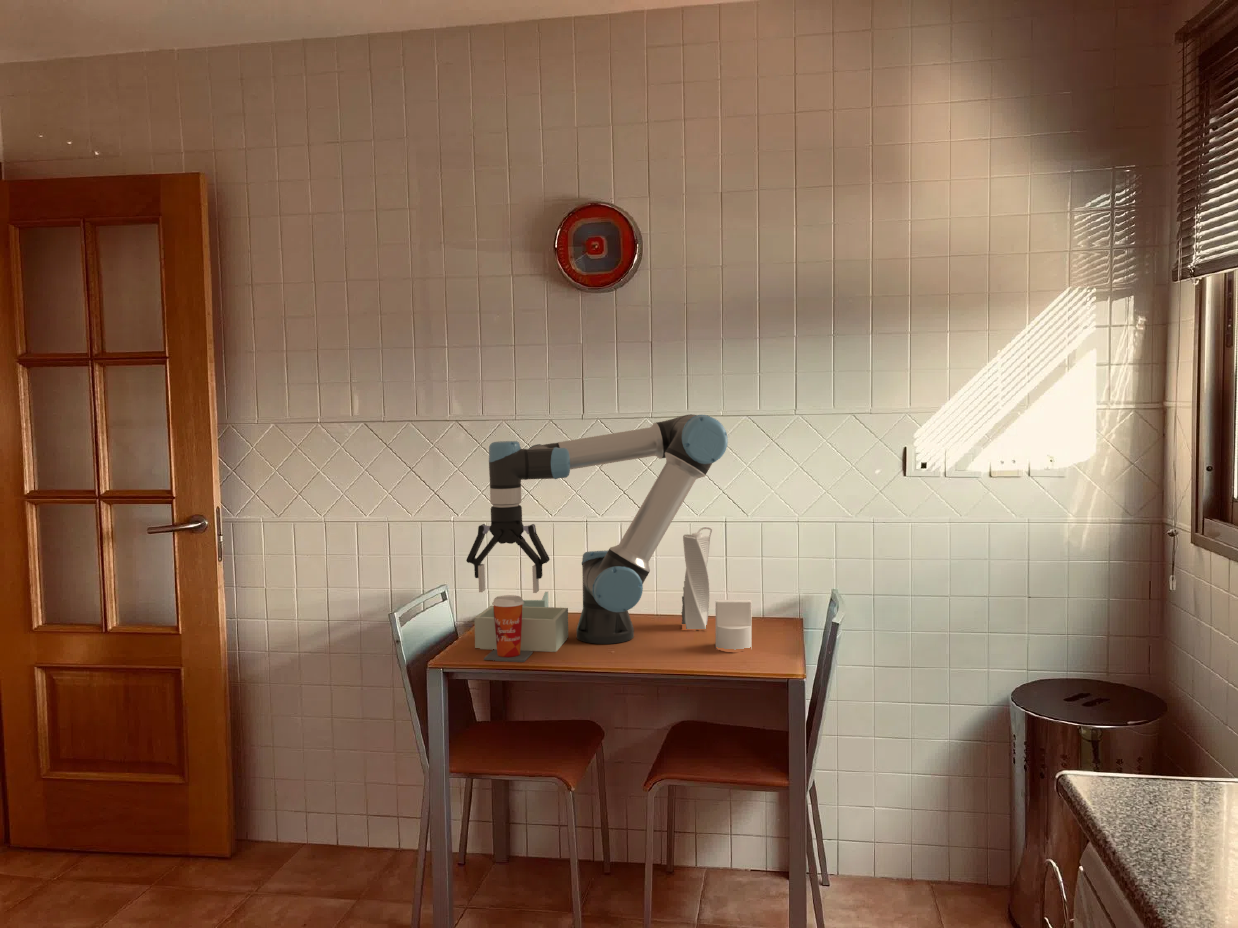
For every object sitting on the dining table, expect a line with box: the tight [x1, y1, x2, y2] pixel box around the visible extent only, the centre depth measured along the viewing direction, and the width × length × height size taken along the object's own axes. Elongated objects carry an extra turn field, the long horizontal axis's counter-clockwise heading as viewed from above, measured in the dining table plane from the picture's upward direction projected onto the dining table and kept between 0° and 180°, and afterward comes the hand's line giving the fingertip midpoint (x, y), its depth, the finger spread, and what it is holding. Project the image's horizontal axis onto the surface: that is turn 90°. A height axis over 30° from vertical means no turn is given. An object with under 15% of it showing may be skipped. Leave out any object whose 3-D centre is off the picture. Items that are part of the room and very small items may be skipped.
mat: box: [483, 649, 534, 663], centre depth 237 cm, size 10×8×1 cm
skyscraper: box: [681, 526, 713, 629], centre depth 263 cm, size 8×8×28 cm
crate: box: [474, 605, 569, 653], centre depth 249 cm, size 21×14×8 cm, turn 80°
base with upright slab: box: [715, 599, 753, 650], centre depth 243 cm, size 9×9×12 cm
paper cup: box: [491, 594, 524, 657], centre depth 236 cm, size 8×8×14 cm
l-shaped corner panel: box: [522, 591, 549, 607], centre depth 272 cm, size 12×12×8 cm
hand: (508, 591), depth 236 cm, fingers open, 13 cm apart
